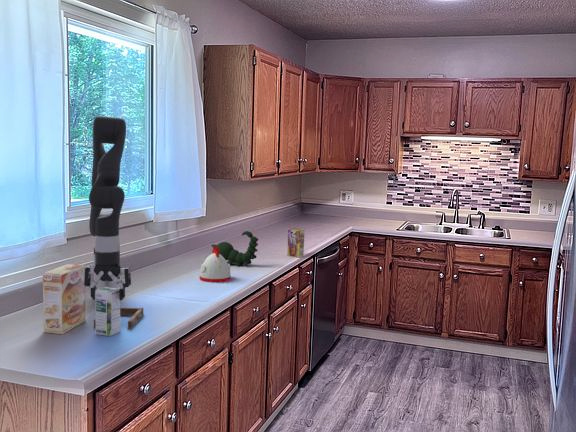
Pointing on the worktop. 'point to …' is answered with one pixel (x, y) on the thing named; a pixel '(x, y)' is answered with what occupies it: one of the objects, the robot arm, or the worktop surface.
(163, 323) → the worktop surface
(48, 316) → the coffeecake box
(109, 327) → the syrup box
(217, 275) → the kitchen timer
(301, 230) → the candy box
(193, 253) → the worktop surface
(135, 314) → the walnut U-rest
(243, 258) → the toy figurine
